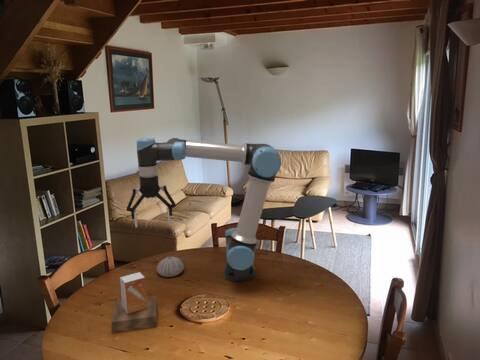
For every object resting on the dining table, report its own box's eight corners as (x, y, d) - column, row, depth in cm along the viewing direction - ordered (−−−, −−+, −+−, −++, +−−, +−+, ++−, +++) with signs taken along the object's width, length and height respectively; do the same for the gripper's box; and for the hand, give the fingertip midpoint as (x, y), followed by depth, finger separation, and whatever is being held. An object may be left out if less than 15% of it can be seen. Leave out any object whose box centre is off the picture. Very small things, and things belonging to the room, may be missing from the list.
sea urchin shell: (162, 281, 190) (160, 265, 188) (153, 271, 202) (152, 256, 200) (188, 274, 196) (187, 259, 194) (178, 265, 208) (177, 250, 206)
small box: (127, 315, 153) (124, 282, 150) (122, 308, 158) (119, 277, 155) (148, 308, 157) (145, 277, 155) (142, 302, 162) (139, 271, 160)
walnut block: (156, 306, 168) (155, 295, 167) (156, 328, 153) (155, 316, 152) (116, 312, 165) (115, 301, 164) (112, 334, 150) (111, 322, 149)
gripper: (178, 171, 173) (181, 219, 178) (118, 176, 169) (123, 224, 173) (179, 174, 166) (183, 224, 171) (116, 179, 161) (121, 230, 166)
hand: (152, 224), depth 172 cm, fingers open, 13 cm apart
